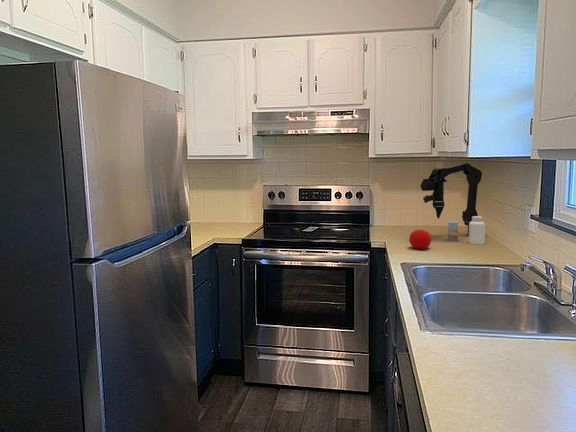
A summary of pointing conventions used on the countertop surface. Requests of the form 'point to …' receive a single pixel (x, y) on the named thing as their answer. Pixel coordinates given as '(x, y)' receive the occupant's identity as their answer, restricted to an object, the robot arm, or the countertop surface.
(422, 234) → the tomato
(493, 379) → the countertop surface
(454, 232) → the tower top
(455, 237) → the tower base
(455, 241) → the mat
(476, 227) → the pill bottle
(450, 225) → the pale grey cube
